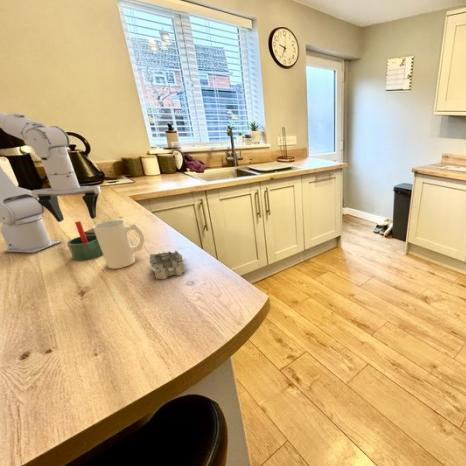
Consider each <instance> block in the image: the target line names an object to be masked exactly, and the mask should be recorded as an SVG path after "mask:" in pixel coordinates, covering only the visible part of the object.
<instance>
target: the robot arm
mask: <svg viewBox="0 0 466 466" xmlns="http://www.w3.org/2000/svg"><path fill="white" fill-rule="evenodd" d="M0 127H1V130H2V131H3V132H4V133H6V134H8V135H10V136H13V137H15V138H17V139H20V140H22V141H24V142H26V143H27V144H28V146H29V147H30V148H32V150H33V151H34V154H35V155H36V156H37V158H40V159H39V160H40V161H41V164H42V167H43V169H44V172H45V174H46V177H47V179H48V182H49V185H50V188H43V189H42V188H41V189H33V190H31V189H27V188H23V187H20V186H18V185H16V183H15V182H14V181H13V180H12V178H11V177H10V176H9V174H8V173H7V172H6V171H5V169H4V168H3V167H2V165H0V223H1V226H0V233H1V236H2V237H3V240H4V241H5V243H6V246H7V249H5V252H10V253H12V252H13V253H29V254H30V253H31V254H34V253H35V254H36V253H37V252H40V251H42V250H45V249H48V248H50V247H52V246H55V245H57V244H60V240H51V238H50V235H49V233H48V230H47V228H46V226H45V223H44V221H43V219H42V218H45V217H44V214H45V213H46V210H47V211H48V212H49V213H50V214H51V215H52V216H53V217H54V219H56V222H57V223H61V222H62V221H64V220H65V218H64V215H63V212H62V210H61V208H60V205H59V198H58V197H64V196H78V195H82V196H81V198H82V200H83V202H84V204H85V205H86V207H87V208H86V209H87V211H88V214H89V216H90V219H91V220H93V219H96V218H97V202H98V198H99V195H100V194H101V193H102V190H101V186H100V185H80V183H79V181H78V178H77V174H76V172H75V169H74V166H73V163H72V161H71V158H70V155H69V152H68V149H67V148H68V147H69V146H70V143H71V141H70V137H69V135H68V133H67V132H66V131H65V130H64V129H62V128H61V127H59V126H57V125H50V126H47V125H44V124H43V122H40V121H35V120H33V119H30V118H28V117H26V115H25V114H23V113H21V112H14V113H13V112H12V113H6V112H4V111H3V110H0Z"/></svg>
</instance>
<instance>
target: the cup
mask: <svg viewBox="0 0 466 466" xmlns="http://www.w3.org/2000/svg"><path fill="white" fill-rule="evenodd" d="M86 238H87V241H88V242H87V243H82V240H81V237H80V236H78V237H77V236H76V237H74V238H72V239H69V240H68V241H67V247H68V249H69V252H70V254H71V257H72V259H73V260H74V261H87V260H88V261H89V260H92V259H95V258H98V257H100V256H104V255H103V253H102V250H101V247H100V245H99V242H98V240H97V237H96V235H86Z"/></svg>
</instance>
